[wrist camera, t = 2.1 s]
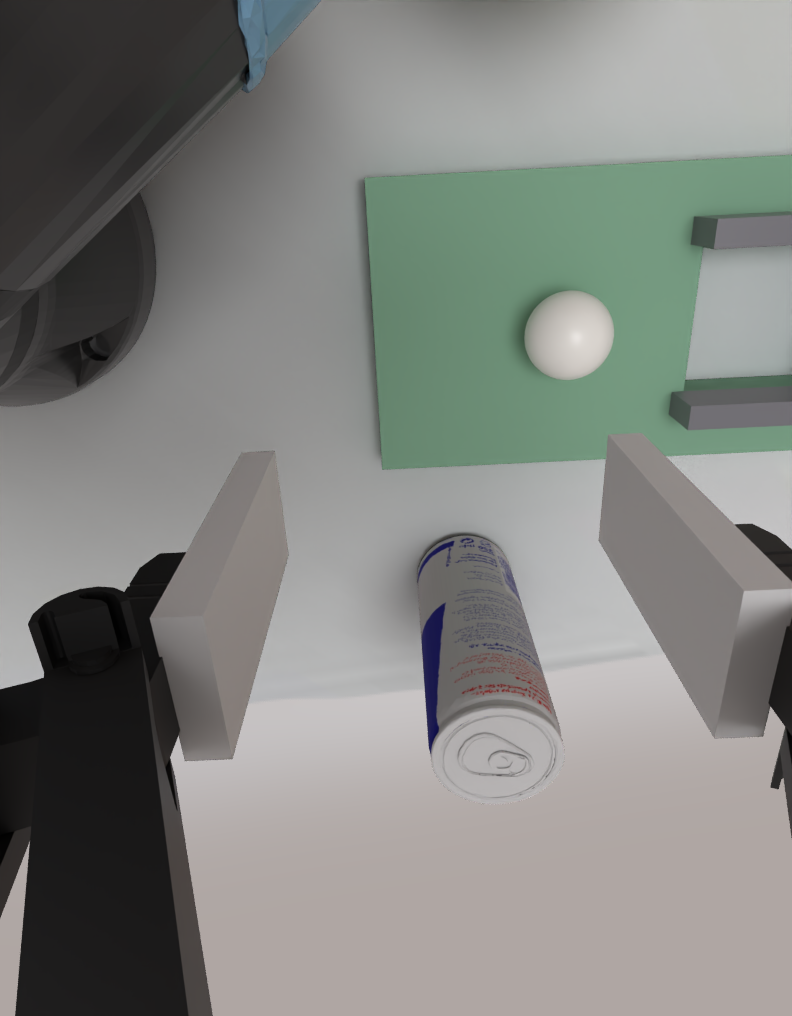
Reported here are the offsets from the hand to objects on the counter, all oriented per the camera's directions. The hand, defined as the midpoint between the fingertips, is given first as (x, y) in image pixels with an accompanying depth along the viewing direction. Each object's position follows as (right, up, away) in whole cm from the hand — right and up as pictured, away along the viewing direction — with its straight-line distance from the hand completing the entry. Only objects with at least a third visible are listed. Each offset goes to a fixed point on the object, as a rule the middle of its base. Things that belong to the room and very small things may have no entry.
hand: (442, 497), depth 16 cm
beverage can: (+3, -4, +26) cm, 26 cm away
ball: (+7, +9, +17) cm, 20 cm away
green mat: (+10, +10, +19) cm, 23 cm away
